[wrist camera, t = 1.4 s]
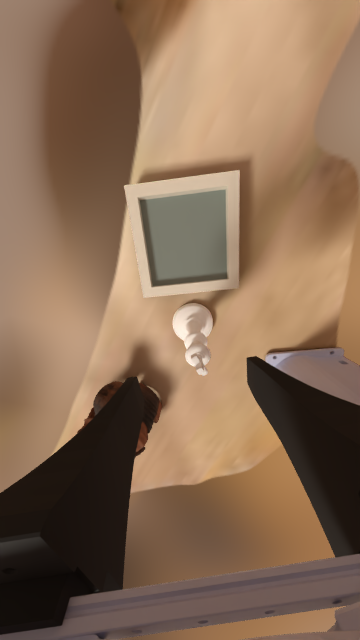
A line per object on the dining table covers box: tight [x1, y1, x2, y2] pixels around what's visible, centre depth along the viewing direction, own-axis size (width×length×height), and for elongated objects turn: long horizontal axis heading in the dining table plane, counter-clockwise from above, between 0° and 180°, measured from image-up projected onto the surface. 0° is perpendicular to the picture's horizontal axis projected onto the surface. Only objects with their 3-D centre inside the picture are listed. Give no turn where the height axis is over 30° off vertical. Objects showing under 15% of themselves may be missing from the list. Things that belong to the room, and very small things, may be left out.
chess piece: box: [173, 303, 213, 376], centre depth 16 cm, size 5×5×10 cm
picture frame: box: [124, 170, 240, 298], centre depth 17 cm, size 10×10×2 cm
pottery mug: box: [77, 382, 162, 457], centre depth 23 cm, size 12×10×8 cm
